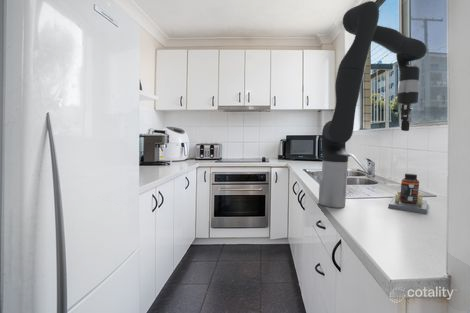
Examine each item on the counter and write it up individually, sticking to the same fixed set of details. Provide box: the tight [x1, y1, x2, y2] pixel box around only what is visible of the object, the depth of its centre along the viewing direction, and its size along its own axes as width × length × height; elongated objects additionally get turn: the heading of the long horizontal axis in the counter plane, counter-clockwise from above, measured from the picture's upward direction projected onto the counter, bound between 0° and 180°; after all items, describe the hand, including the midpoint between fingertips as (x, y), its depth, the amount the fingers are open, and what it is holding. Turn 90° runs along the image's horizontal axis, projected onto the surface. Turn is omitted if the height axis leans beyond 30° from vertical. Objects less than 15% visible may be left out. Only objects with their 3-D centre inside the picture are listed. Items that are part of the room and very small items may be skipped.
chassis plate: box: [388, 191, 428, 214], centre depth 108 cm, size 12×18×4 cm, turn 145°
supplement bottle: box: [400, 172, 420, 204], centre depth 108 cm, size 6×6×11 cm
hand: (405, 130), depth 116 cm, fingers open, 8 cm apart
